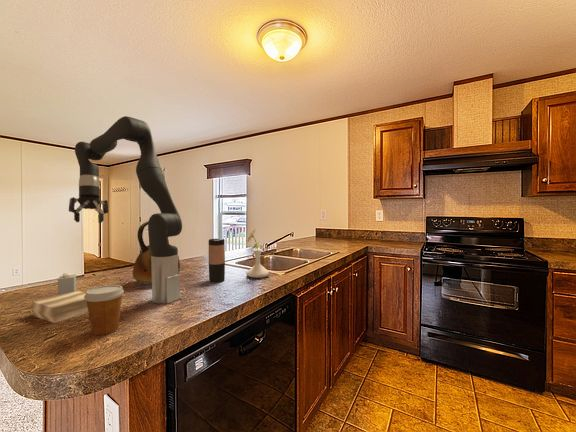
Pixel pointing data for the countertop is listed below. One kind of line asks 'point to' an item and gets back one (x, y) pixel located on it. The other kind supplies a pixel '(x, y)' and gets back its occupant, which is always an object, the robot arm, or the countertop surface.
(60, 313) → the birch block
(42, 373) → the countertop surface
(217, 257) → the travel mug
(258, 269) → the flower in vase
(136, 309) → the countertop surface
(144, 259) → the ceramic pitcher
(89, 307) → the disposable coffee cup
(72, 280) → the grey box with knob
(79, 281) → the countertop surface
